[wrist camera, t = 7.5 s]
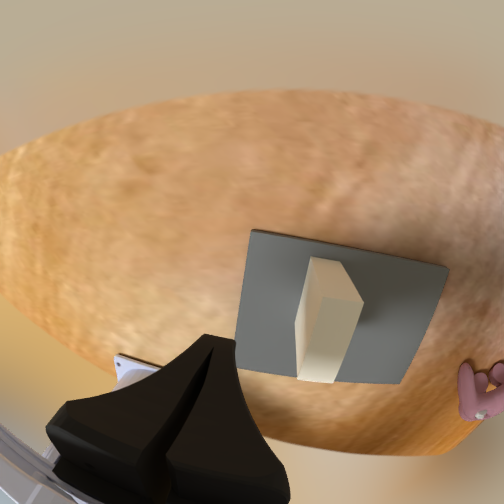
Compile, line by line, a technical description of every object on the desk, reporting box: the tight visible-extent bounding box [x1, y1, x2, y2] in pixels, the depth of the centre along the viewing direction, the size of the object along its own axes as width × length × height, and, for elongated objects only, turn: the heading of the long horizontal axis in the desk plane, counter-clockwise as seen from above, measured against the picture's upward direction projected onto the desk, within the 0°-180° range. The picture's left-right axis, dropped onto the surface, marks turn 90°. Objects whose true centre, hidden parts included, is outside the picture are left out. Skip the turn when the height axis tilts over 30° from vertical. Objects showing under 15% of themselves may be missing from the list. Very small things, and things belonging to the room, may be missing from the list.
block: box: [295, 256, 364, 383], centre depth 15 cm, size 5×2×6 cm, turn 171°
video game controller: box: [458, 363, 504, 421], centre depth 17 cm, size 10×5×7 cm, turn 101°
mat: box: [234, 230, 450, 384], centre depth 19 cm, size 11×15×1 cm
